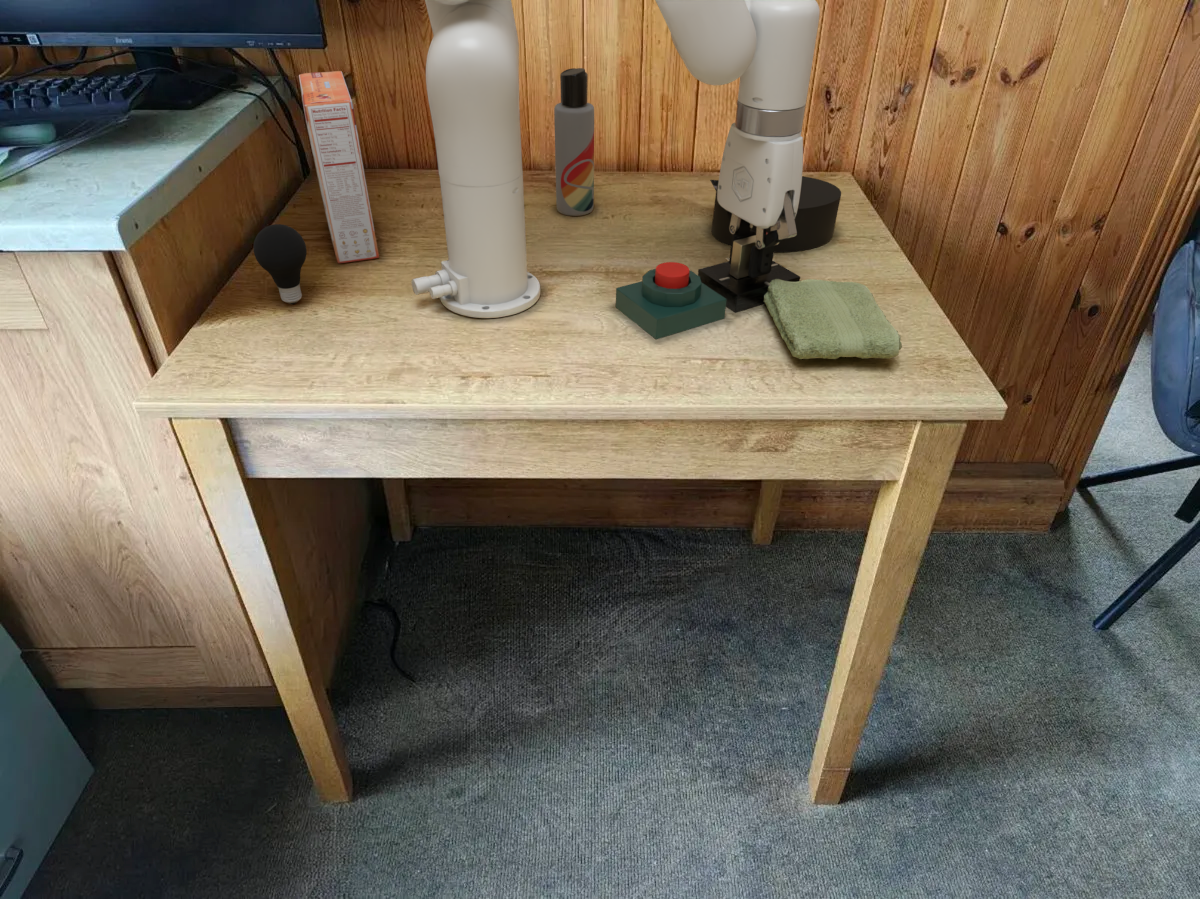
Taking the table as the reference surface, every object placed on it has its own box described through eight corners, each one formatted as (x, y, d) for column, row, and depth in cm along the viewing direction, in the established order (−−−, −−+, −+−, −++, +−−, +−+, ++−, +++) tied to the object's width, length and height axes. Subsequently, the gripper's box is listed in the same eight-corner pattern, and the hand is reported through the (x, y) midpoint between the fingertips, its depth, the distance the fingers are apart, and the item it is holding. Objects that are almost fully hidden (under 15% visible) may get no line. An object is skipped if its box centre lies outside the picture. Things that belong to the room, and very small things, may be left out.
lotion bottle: (593, 217, 125) (594, 75, 113) (555, 216, 126) (551, 74, 113) (594, 202, 130) (595, 64, 118) (557, 201, 130) (554, 63, 118)
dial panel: (738, 315, 102) (740, 295, 101) (693, 285, 108) (695, 266, 107) (800, 296, 106) (803, 277, 105) (754, 268, 112) (756, 249, 111)
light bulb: (267, 317, 100) (246, 239, 94) (269, 295, 105) (249, 218, 99) (318, 311, 102) (300, 233, 96) (317, 290, 106) (301, 214, 100)
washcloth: (862, 294, 106) (866, 270, 104) (905, 364, 91) (911, 338, 89) (758, 296, 106) (761, 272, 104) (785, 366, 91) (789, 340, 89)
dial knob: (737, 279, 104) (741, 243, 101) (729, 274, 105) (733, 238, 102) (768, 270, 106) (773, 235, 103) (760, 265, 107) (765, 230, 104)
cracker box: (327, 225, 122) (296, 72, 109) (369, 220, 124) (344, 68, 111) (334, 265, 112) (301, 101, 99) (380, 260, 113) (354, 97, 100)
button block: (656, 340, 97) (658, 305, 95) (615, 307, 103) (616, 274, 101) (724, 319, 101) (728, 285, 99) (681, 289, 108) (684, 256, 105)
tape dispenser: (843, 258, 118) (857, 206, 113) (718, 252, 116) (727, 199, 111) (814, 220, 129) (826, 171, 125) (700, 214, 127) (707, 165, 123)
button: (667, 293, 98) (668, 279, 97) (648, 279, 100) (649, 266, 99) (695, 285, 99) (696, 272, 98) (675, 272, 102) (676, 259, 101)
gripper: (699, 104, 98) (687, 251, 109) (792, 144, 87) (768, 303, 98) (749, 95, 101) (732, 239, 113) (845, 133, 90) (816, 288, 102)
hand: (749, 267), depth 105 cm, fingers open, 3 cm apart
